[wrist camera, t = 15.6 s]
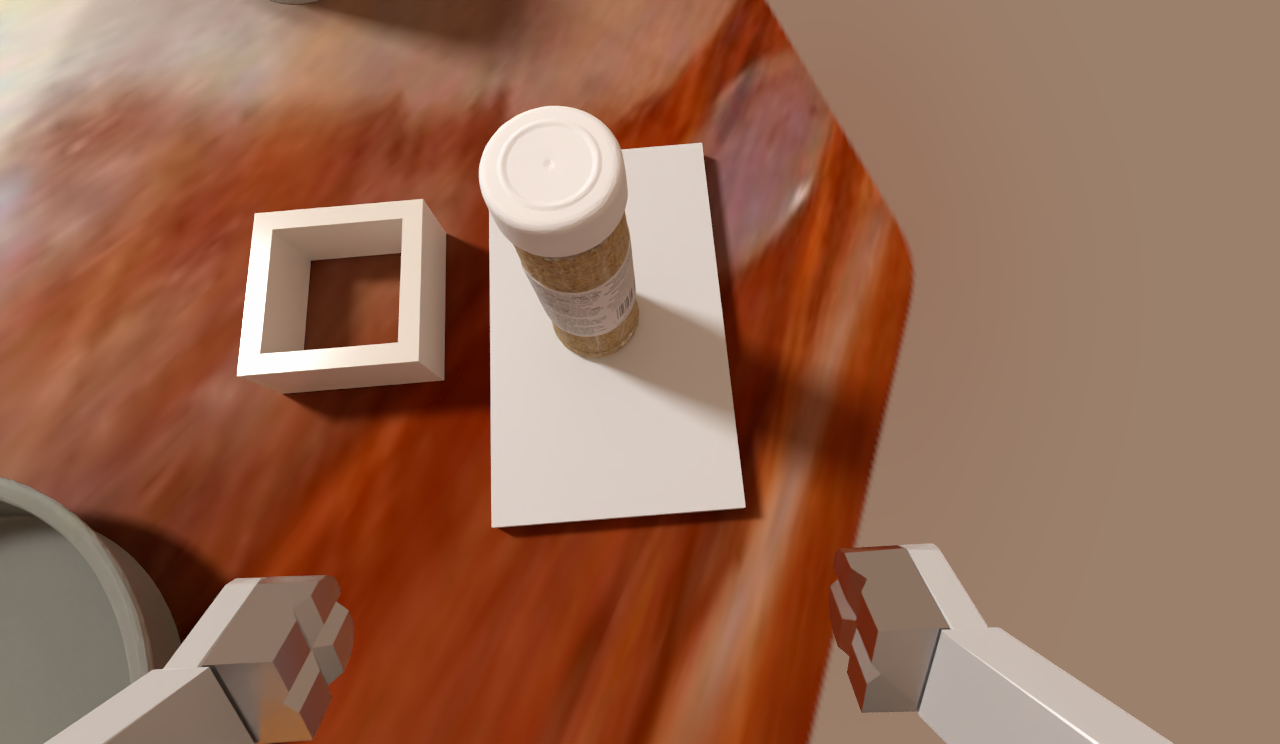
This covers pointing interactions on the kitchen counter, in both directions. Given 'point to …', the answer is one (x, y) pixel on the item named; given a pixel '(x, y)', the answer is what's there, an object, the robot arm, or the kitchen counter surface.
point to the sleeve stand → (284, 287)
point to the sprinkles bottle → (567, 222)
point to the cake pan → (69, 618)
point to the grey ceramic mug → (294, 1)
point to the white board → (619, 374)
